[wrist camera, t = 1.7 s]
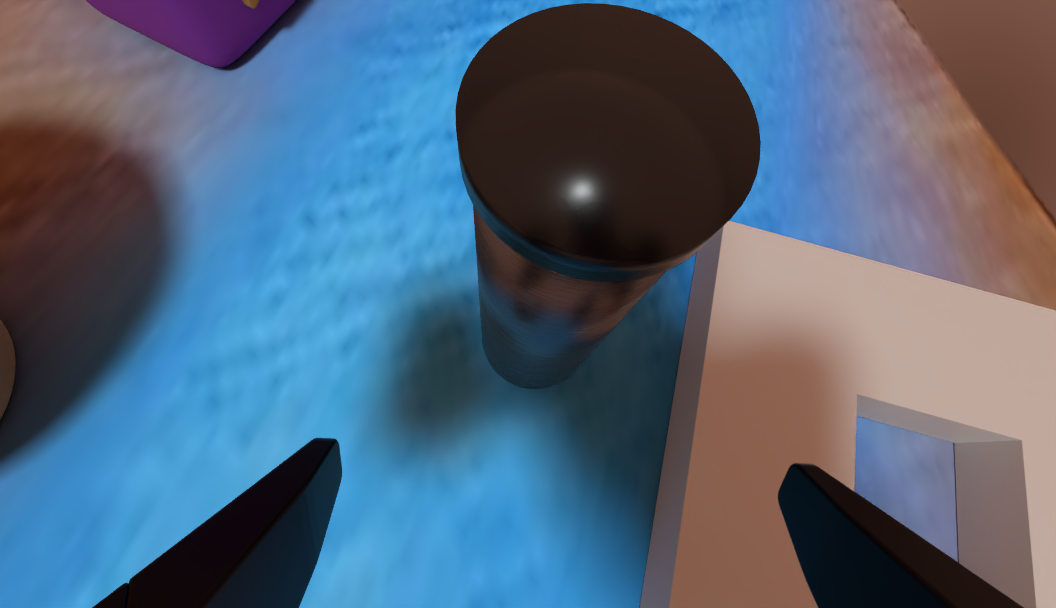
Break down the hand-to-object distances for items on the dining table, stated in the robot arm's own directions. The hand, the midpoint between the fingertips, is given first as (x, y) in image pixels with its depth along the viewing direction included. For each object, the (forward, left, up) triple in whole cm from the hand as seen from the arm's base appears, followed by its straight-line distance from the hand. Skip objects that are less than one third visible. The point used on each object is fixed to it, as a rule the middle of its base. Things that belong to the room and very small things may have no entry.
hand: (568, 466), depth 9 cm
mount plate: (+3, -16, -12) cm, 20 cm away
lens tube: (+6, +1, -12) cm, 13 cm away
